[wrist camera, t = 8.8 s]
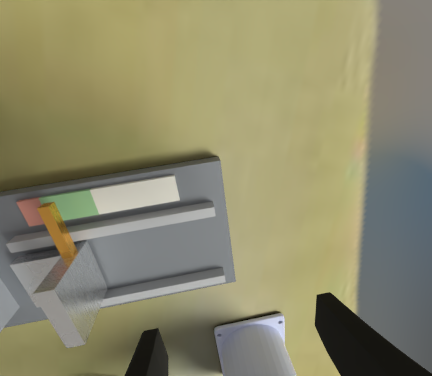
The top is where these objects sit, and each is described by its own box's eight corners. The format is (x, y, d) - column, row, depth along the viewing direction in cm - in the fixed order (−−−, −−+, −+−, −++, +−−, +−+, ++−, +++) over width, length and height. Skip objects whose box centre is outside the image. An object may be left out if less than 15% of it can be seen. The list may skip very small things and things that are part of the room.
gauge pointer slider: (107, 287, 19) (85, 344, 15) (45, 299, 19) (3, 361, 15) (66, 193, 16) (21, 232, 11) (-11, 206, 16) (-89, 251, 11)
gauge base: (233, 272, 22) (248, 330, 17) (14, 315, 21) (-46, 393, 16) (218, 156, 18) (232, 184, 12) (-67, 202, 16) (-193, 257, 11)
